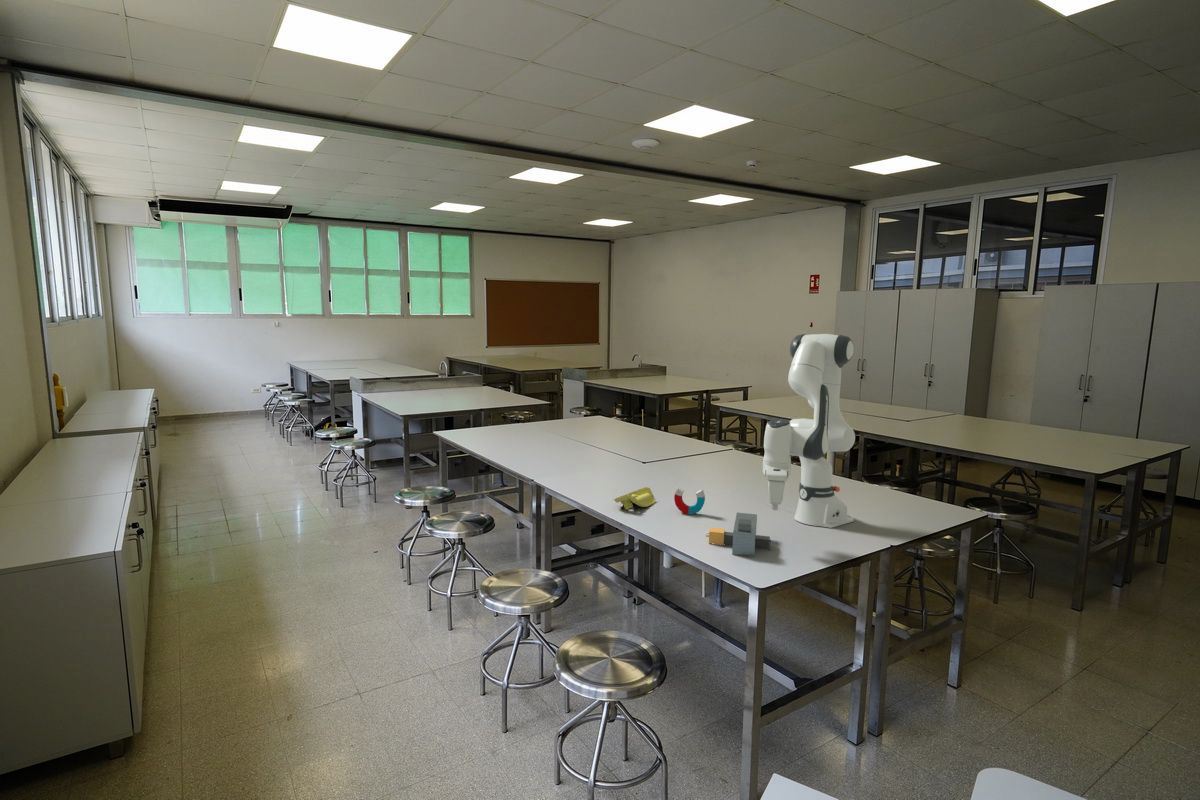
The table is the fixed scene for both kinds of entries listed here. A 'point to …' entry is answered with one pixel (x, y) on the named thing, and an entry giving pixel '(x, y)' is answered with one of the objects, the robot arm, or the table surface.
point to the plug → (727, 538)
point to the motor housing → (744, 534)
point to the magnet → (686, 508)
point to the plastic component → (637, 498)
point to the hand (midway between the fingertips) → (775, 508)
